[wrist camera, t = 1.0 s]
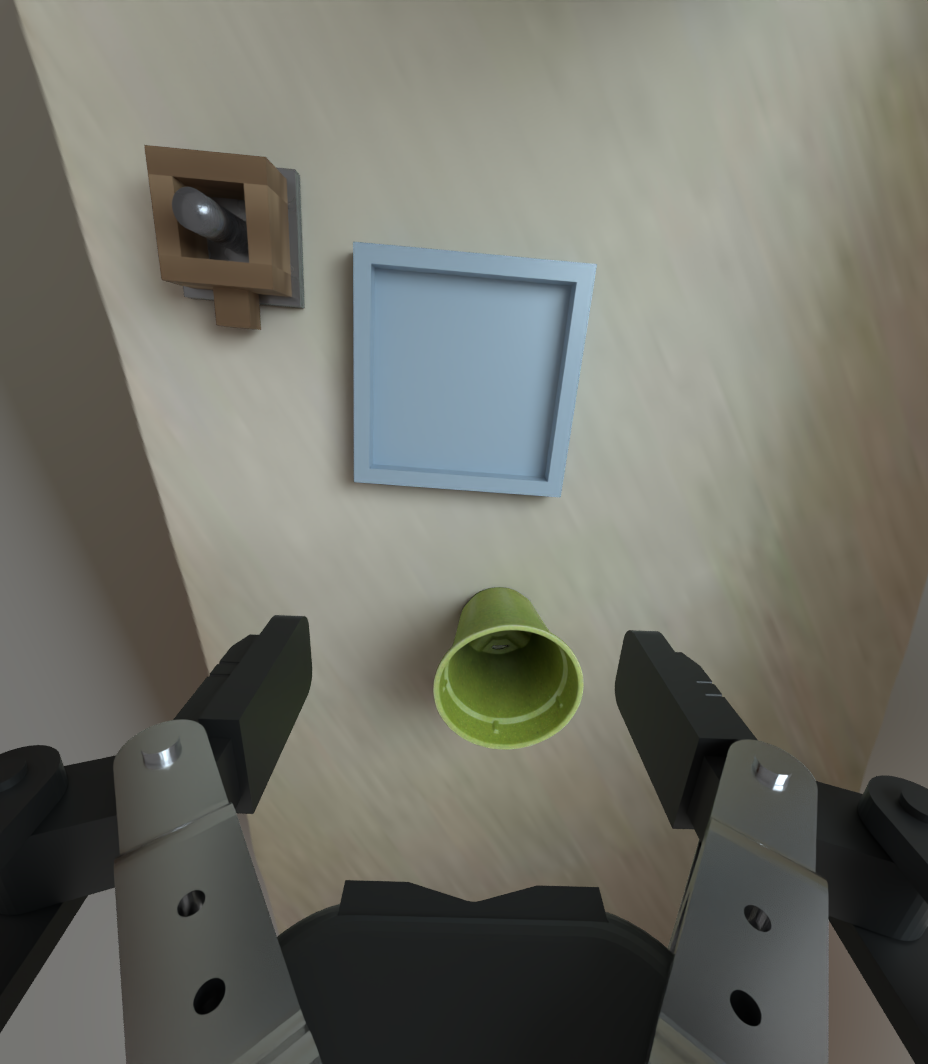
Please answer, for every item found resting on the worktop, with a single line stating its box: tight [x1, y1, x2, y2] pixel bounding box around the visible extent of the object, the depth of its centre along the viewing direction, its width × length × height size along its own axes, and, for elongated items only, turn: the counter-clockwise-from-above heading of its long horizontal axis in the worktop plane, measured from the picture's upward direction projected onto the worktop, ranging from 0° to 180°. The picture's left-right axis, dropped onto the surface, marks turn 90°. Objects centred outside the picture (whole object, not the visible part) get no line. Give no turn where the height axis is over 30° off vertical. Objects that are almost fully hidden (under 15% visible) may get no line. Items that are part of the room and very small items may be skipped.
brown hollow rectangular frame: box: [144, 145, 292, 330], centre depth 26 cm, size 8×6×3 cm
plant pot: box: [433, 588, 583, 750], centre depth 33 cm, size 9×9×9 cm
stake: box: [172, 168, 305, 308], centre depth 25 cm, size 7×7×6 cm
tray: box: [353, 242, 597, 497], centre depth 30 cm, size 14×14×2 cm
